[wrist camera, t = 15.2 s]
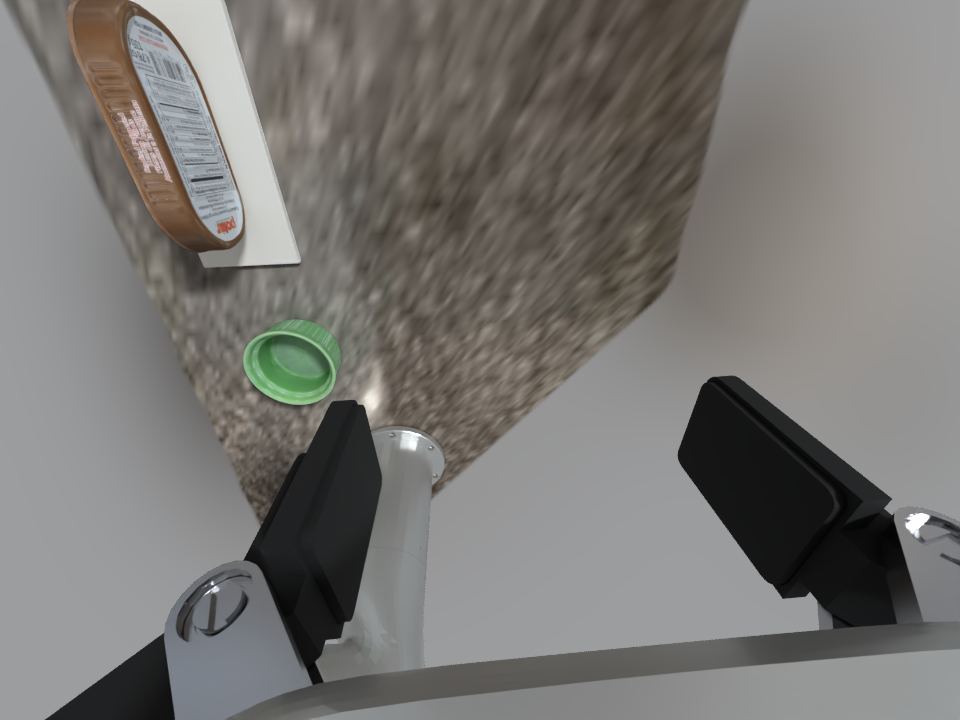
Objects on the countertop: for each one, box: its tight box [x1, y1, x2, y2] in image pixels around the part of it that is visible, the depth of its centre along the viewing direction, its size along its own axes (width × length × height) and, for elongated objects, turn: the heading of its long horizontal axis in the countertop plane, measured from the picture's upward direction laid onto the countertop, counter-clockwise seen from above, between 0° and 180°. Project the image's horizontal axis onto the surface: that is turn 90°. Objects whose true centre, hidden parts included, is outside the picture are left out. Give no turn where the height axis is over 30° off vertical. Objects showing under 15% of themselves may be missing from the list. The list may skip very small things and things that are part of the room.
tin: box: [67, 0, 245, 253], centre depth 25 cm, size 15×3×8 cm, turn 2°
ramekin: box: [243, 319, 341, 405], centre depth 38 cm, size 9×9×4 cm
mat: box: [130, 0, 301, 268], centre depth 29 cm, size 20×9×1 cm, turn 2°
